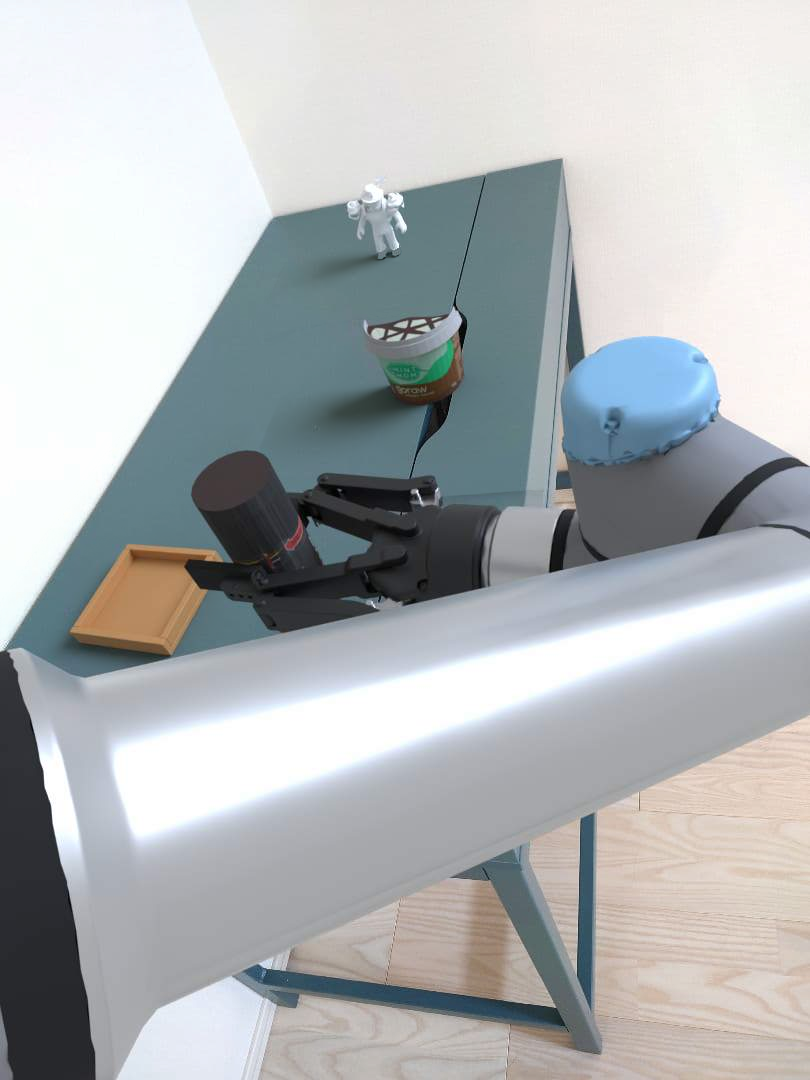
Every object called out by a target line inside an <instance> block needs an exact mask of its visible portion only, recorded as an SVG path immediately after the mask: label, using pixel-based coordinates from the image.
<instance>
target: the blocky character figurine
mask: <svg viewBox="0 0 810 1080" xmlns="http://www.w3.org/2000/svg"><path fill="white" fill-rule="evenodd" d="M382 175H383V176H381V177H379V178H378V179H375V180H374V182H375V183H376V184H374V183H368V184H367V185H365V186H364V188H363V190H362V195H361V196H360V199H361V201H362V204H360V202H359V201H358V200H357V199H355V200H354V199H353V198H351V200H350V201H349V202H348V203H347V204H346V207H347V209H346V211H347V213H348V215H347V217H348V218H349V219H351V220H353V221H358V226H357V231H356V236H357V237H356V238H357V239H358V240H360V241H361V240H362V239H363V236H364V235H365V231H366V229H365V226H366V223H367V221H368V222H369V223H370V226H371V228H372V235H373V241H374V245H375V249H376V253H377V252H382V251H384V250H385V249H386V248H387V247H386V244H385V243H384V236H385V238H386V240H387V243H388V245H389V248H390V250H391V249H392V250H395V249H397V248H399V245H400V244H399V242H398V240H397V237H396V235H395V231H398V229H400V232H401V235H403V234H406V232H407V227H408V226H407V224H406V223H405V221H404V218H403V216H402V215H401V213H400V211H398V210H399V208H400V206H401V208H403V209H405V203H404V197H403V195H402V194H400V193H399V192H397V191H395V192H390V193H388V194H387V198H385V197H384V190H383V189H381V188H379V187H383V183H385V182H386V181H387V180H386V179H388V178H387V177H388V175H387V174H382ZM352 216H353V217H352ZM354 216H355V217H354ZM356 216H357V217H356ZM393 218H394V220H395V221H396V222H395V223H396V224H395V231H394V228H393V226H392V225H391V221H392V219H393ZM362 235H363V236H362Z"/></svg>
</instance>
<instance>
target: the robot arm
mask: <svg viewBox="0 0 810 1080" xmlns="http://www.w3.org/2000/svg"><path fill="white" fill-rule="evenodd" d="M719 392H720V391H719V387H718V382H717V375H716V372H715V371H714V367H713V365H712V364H711V363H710V362H709V359H708V358H707V357H706V356H705V354H704V353H703V351H701V350H700V349H698V348H697V347H695V346H694V345H692V344H690V343H689V342H686V341H684V340H681V339H677V338H674V337H669V336H668V337H667V336H658V335H657V336H654V335H646V336H643V335H642V336H633V337H629V338H624V339H621V340H617V341H613V342H611V343H608V344H606V345H603V346H601V347H600V348H598V349H597V350H596V351H595V352H593V353H589V354H588V356H585V357H584V358H583V359H581V360H580V361H579V362H578V363H576V364H575V366H573V368H572V369H571V370H570V372H569V373H568V374H567V376H566V378H565V380H564V382H563V385H562V388H561V392H560V402H559V403H560V411H561V420H562V422H561V423H562V431H563V435H562V437H561V449H562V453H563V454H564V457H565V461H566V466H567V470H568V475H569V479H570V480H569V481H570V485H571V490H572V493H573V494H572V495H573V498H574V504H575V508H551V507H533V506H517V505H507V506H506V507H505V508H504V509H503V510H502V511H501V509H499V508H498V507H497V506H496V505H487V504H486V505H485V504H469V503H467V504H466V503H450V504H447V505H446V506H444V507H442V506H443V505H444V499H443V497H442V493H441V490H440V487H439V484H438V481H437V479H436V477H435V476H434V475H431V474H428V475H421V476H417V477H410V478H397V477H385V476H384V477H383V476H372V475H358V474H347V473H336V472H323V473H321V474H319V475H318V477H317V478H316V483H317V484H316V485H315V486H314V487H313V488H309V489H306V490H304V491H303V492H290V491H289V492H287V491H286V493H287V495H288V497H289V498H290V500H291V502H292V504H293V506H294V508H295V510H296V512H297V513H298V515H299V517H300V519H301V521H302V523H303V525H304V526H305V528H306V529H307V528H308V526H309V524H310V520H309V518H311V520H312V521H313V524H314V526H315V527H316V528H319V526H321V525H322V526H323V525H324V526H326V527H329V528H332V529H334V530H337V531H339V532H343V533H344V534H347V535H350V536H352V537H356V538H359V539H361V540H364V541H366V542H369V543H371V544H370V546H369V547H368V548H367V549H366V551H365V552H364V553H358V554H351V555H349V556H348V557H347V559H346V560H345V561H341V562H334V563H329V564H328V563H327V564H325V565H322V566H316V567H310V568H304V569H298V570H292V571H287V572H281V573H275V574H269V575H268V574H267V573H266V571H265V570H264V568H263V566H262V565H252V564H248V565H247V564H240V563H233V562H228V561H223V562H217V561H205V560H194V559H188V561H187V562H186V564H185V566H184V568H185V569H186V570H187V572H188V573H189V575H190V576H191V577H192V579H193V580H194V581H195V583H196V584H197V585H198V587H199V588H200V589H205V590H208V591H214V592H223V594H224V595H225V597H226V598H227V599H228V600H230V601H232V602H239V603H240V602H241V603H243V602H244V603H249V604H252V608H253V610H254V611H255V613H256V614H257V616H258V617H259V619H260V621H261V622H262V624H263V625H264V626H265V627H266V629H267V630H269V631H274V632H275V631H276V632H279V631H289V632H286V633H278V634H274V635H269V636H265V637H264V636H263V637H261V638H255V639H251V640H247V641H243V642H238V643H234V644H229V645H224V646H220V647H216V648H212V649H206V650H203V651H198V652H194V653H190V654H184V655H180V656H175V657H171V658H167V659H163V660H159V661H154V662H149V663H145V664H140V665H135V666H132V667H127V668H123V669H119V670H114V671H109V672H105V673H100V674H96V675H91V676H88V677H82V676H78V675H74V674H71V673H69V672H67V671H65V670H64V669H61V668H60V667H57V666H56V665H55V664H52V663H50V662H48V661H47V660H45V659H43V658H41V657H39V656H38V655H36V654H35V653H32V652H30V651H28V650H26V649H24V648H23V647H18V648H12V649H5V650H1V651H0V1080H117V1079H118V1077H119V1075H120V1073H121V1071H122V1069H123V1067H124V1066H125V1063H126V1061H127V1059H128V1058H129V1056H130V1053H131V1051H132V1050H133V1047H134V1046H135V1044H136V1042H137V1040H138V1038H139V1036H140V1034H141V1032H142V1030H143V1028H144V1027H145V1025H146V1024H147V1023H148V1022H149V1020H150V1019H151V1018H152V1017H153V1015H154V1014H155V1013H156V1012H157V1010H159V1009H161V1008H163V1007H165V1006H167V1005H170V1004H172V1003H175V1002H177V1001H179V1000H181V999H184V998H185V997H188V996H189V995H192V994H194V993H197V992H198V991H201V990H203V989H205V988H208V987H210V986H212V985H214V984H217V983H218V982H219V983H220V982H221V981H223V980H225V979H228V978H230V977H233V976H234V975H237V974H238V973H241V972H243V971H245V970H248V969H250V968H252V967H254V966H257V965H259V964H261V963H263V962H265V961H267V960H270V959H273V958H274V957H276V956H279V955H282V954H283V953H286V952H287V951H290V950H292V949H294V948H297V947H298V946H301V945H303V944H306V943H307V942H310V941H312V940H314V939H316V938H319V937H320V936H324V935H326V934H327V933H329V932H332V931H334V930H336V929H339V928H341V927H343V926H345V925H348V924H350V923H353V922H354V921H356V920H359V919H361V918H363V917H365V916H367V915H369V914H372V913H374V912H376V911H379V910H381V909H383V908H385V907H387V906H389V905H392V904H394V903H396V902H399V901H401V900H403V899H406V898H408V897H409V896H411V895H414V894H417V893H419V892H420V891H423V890H425V889H427V888H430V887H432V886H434V885H436V884H438V883H440V882H443V881H445V880H447V879H450V878H452V877H454V876H457V875H459V874H461V873H463V872H465V871H467V870H470V869H471V868H474V867H477V866H479V865H481V864H484V863H485V862H487V861H490V860H491V859H494V858H496V857H498V856H500V855H503V854H505V853H507V852H509V851H511V850H514V849H516V848H518V847H520V846H524V845H525V844H527V843H530V842H532V841H533V840H536V839H539V838H540V837H543V836H546V835H547V834H549V833H552V832H554V831H556V830H558V829H561V828H563V827H565V826H568V825H570V824H571V823H573V822H576V821H578V820H580V819H583V818H585V817H587V816H590V815H591V814H594V813H596V812H598V811H600V810H603V809H605V808H607V807H609V806H612V805H614V804H616V803H618V802H621V801H622V800H625V799H627V798H630V797H632V796H634V795H636V794H638V793H640V792H642V791H645V790H647V789H650V788H651V787H653V786H656V785H658V784H661V783H663V782H665V781H667V780H670V779H671V778H674V777H676V776H678V775H680V774H682V773H685V772H687V771H689V770H691V769H694V768H696V767H698V766H700V765H702V764H706V763H707V762H709V761H712V760H714V759H716V758H718V757H720V756H722V755H725V754H727V753H729V752H732V751H734V750H735V749H738V748H741V747H743V746H745V745H747V744H749V743H751V742H754V741H756V740H758V739H760V738H763V737H765V736H767V735H770V734H771V733H773V732H776V731H778V730H781V729H783V728H784V727H787V726H789V725H791V724H794V723H796V722H798V721H801V720H802V719H805V718H807V717H809V716H810V465H809V464H807V463H805V462H804V461H801V459H799V458H798V457H796V456H794V455H792V454H791V453H789V452H787V451H785V450H783V449H782V448H780V447H778V446H776V445H774V444H773V443H771V442H769V441H768V440H765V439H764V438H762V437H760V436H758V435H756V434H755V433H753V432H751V431H749V430H748V429H746V428H744V427H742V426H740V425H738V424H736V423H734V422H733V421H732V420H729V419H727V418H726V417H724V416H723V415H722V414H721V412H720V411H719V407H720V403H721V402H722V398H721V396H722V395H721V394H720V393H719ZM398 513H402V514H398ZM403 513H405V514H403ZM308 517H309V518H308ZM352 597H357V598H359V599H362V600H365V602H361V601H357V600H352V599H351V600H350V599H347V598H352ZM380 597H383V598H384V600H382V601H374V600H373V599H374V598H375V599H376V598H380ZM340 598H341V600H338V599H340ZM345 598H346V599H345Z"/></svg>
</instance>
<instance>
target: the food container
mask: <svg viewBox="0 0 810 1080" xmlns="http://www.w3.org/2000/svg"><path fill="white" fill-rule="evenodd" d="M462 322H463V318H462V317H461V315H460V313H459V310H456V307H455V306H454V305H453V306H452V309H451V311H450V313H447V314H443V315H435V316H409V317H405V318H401V319H397V320H395V321H391V322H386V323H380V324H374V325H369V324H368V323H367V321H366V319H363V328H362V334H363V340H364V345H365V348H366V349H367V350H368V352H370V353H371V354H373V355H374V356H376V358H377V360H378V362H379V364H380V367H381V369H382V370H383V372H384V375H385V376H386V379H387V380H388V383H389V385H390V388H391V389H392V391H393V393H394V395H395V397H396V398H397V399H399V400H400V402H403V403H405V404H408V405H415V406H420V405H422V406H423V405H429V404H433V403H436V402H439V401H441V400H443V399H445V398H447V397H449V396H450V395H452V394H453V393H454V392H455V391H456V390H457V389H459V387H460V385H461V384H462V383H461V380H462V378H463V376H464V377H465V370H464V363H463V356H462V348H461V341H460V335H459V333H460V332H459V329H460V327H461V326H462ZM463 379H464V378H463ZM460 383H461V384H460ZM459 384H460V385H459ZM458 386H459V387H458ZM456 388H457V389H456ZM453 391H454V392H453Z"/></svg>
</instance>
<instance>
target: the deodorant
mask: <svg viewBox="0 0 810 1080" xmlns="http://www.w3.org/2000/svg"><path fill="white" fill-rule="evenodd" d="M286 492H287V491H286V490H285V487H284V486H283V484H282V482H281V480H280V478H279V476H278V474H277V472H276V470H275V468H274V466H273V465H272V463H271V461H270V459H269V458H268V457H267V456H266V455H265V454H264V453H262V452H260V451H257V450H249V449H247V450H246V449H245V450H237V451H234V452H230V453H228V454H226V455H223V456H221V457H218V458H217V459H215V460H214V461H212V462H211V463H209V464H208V465H207V466H206V467H205V468H204V469H203V470H202V471H200V473H199V474H198V475H197V477H196V479H195V480H194V482H193V484H192V487H191V493H190V496H191V500H192V502H193V504H194V505H195V507H196V509H197V511H198V512H199V513H200V515H201V516H202V517H203V519H204V521H205V522H206V524H207V525H208V527H209V528H210V530H211V531H212V533H213V534H214V536H215V538H216V539H217V540H218V542H219V543H220V545H221V546H222V548H223V550H224V551H225V553H226V554H227V555H228V557H229V559H230V560H231V562H232V563H240V564H247V565H248V564H252V565H262V566H263V568H264V570H265V571H266V573H267V574H268V575H269V574H275V573H281V572H287V571H292V570H298V569H304V568H310V567H316V566H322V565H326V564H325V562H324V560H323V558H322V556H321V555H320V553H319V551H318V549H317V547H316V545H315V543H314V542H313V540H312V538H311V536H310V534H309V532H308V531H307V528H305V526H304V525H303V523H302V521H301V519H300V517H299V515H298V513H297V512H296V510H295V508H294V506H293V504H292V502H291V500H290V498H289V497H288V495H287V493H288V492H287V493H286ZM338 600H342V598H340V599H338ZM278 632H279V634H282V633H286V632H289V631H278Z"/></svg>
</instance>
